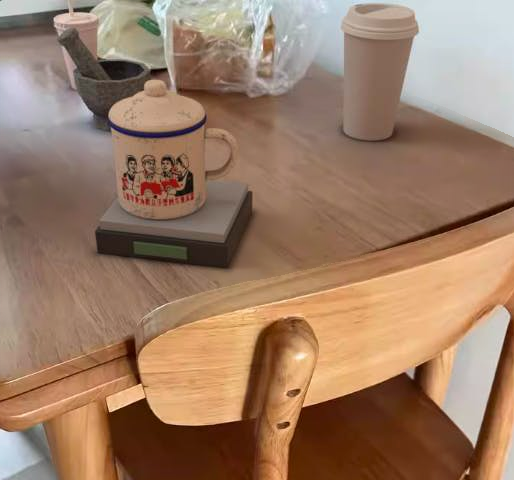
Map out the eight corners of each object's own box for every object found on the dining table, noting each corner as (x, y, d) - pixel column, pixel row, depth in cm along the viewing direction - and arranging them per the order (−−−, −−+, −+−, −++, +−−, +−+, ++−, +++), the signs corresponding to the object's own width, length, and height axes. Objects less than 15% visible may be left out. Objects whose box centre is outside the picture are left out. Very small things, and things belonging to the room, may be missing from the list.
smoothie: (63, 80, 112) (49, -21, 103) (105, 78, 113) (95, -22, 104) (62, 94, 107) (47, -11, 98) (106, 92, 108) (95, -11, 99)
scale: (96, 254, 71) (92, 223, 69) (136, 199, 80) (134, 170, 78) (226, 270, 69) (226, 238, 67) (252, 211, 79) (252, 181, 77)
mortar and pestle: (154, 109, 102) (148, 18, 95) (152, 135, 95) (145, 38, 88) (73, 110, 102) (60, 18, 94) (65, 136, 94) (50, 38, 87)
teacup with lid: (111, 222, 69) (97, 99, 62) (121, 181, 76) (110, 66, 69) (238, 222, 69) (238, 100, 62) (236, 181, 77) (237, 67, 70)
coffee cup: (380, 115, 102) (395, -1, 93) (417, 139, 95) (437, 17, 86) (319, 123, 99) (328, 4, 90) (353, 149, 92) (366, 23, 83)
